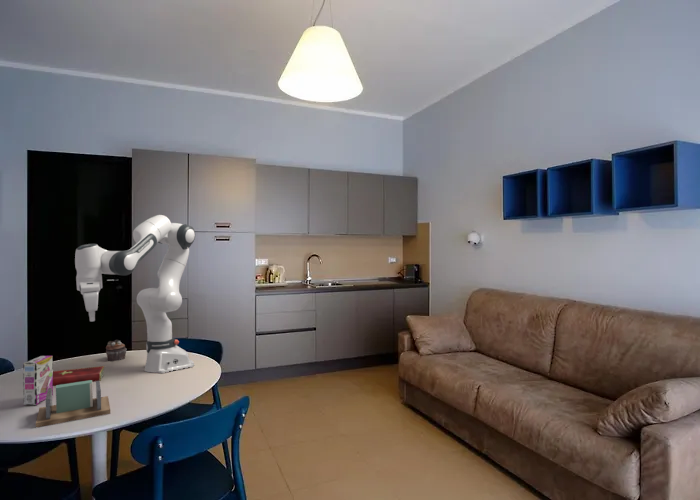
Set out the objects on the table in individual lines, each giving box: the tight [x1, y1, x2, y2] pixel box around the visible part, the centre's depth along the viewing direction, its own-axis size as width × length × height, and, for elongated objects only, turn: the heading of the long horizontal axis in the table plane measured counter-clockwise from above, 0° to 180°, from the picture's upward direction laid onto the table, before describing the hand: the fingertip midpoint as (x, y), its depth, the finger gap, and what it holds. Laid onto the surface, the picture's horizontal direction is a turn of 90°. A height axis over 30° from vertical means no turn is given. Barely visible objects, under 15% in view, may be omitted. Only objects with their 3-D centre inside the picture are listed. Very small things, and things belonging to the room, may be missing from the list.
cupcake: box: [105, 339, 127, 362], centre depth 231 cm, size 10×10×10 cm
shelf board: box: [35, 395, 111, 428], centre depth 160 cm, size 22×16×2 cm
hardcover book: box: [53, 365, 105, 387], centre depth 197 cm, size 12×21×4 cm, turn 112°
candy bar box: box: [22, 355, 54, 406], centre depth 172 cm, size 11×5×16 cm, turn 5°
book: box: [55, 380, 94, 413], centre depth 160 cm, size 4×11×9 cm, turn 121°
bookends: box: [45, 381, 102, 420], centre depth 160 cm, size 16×13×7 cm
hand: (91, 319), depth 177 cm, fingers open, 8 cm apart
